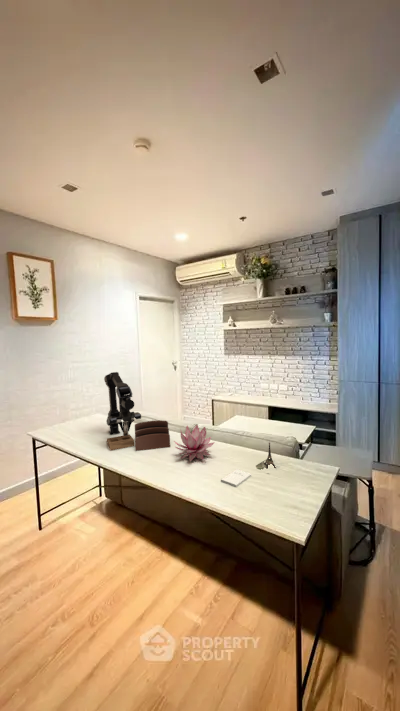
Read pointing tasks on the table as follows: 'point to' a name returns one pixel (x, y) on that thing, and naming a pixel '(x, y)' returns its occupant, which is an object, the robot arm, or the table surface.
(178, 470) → the table surface
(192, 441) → the decorative flower
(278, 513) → the table surface
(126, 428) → the pin
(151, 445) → the letter holder
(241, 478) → the external hard drive
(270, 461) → the eiffel tower figurine
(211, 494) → the table surface
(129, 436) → the block
